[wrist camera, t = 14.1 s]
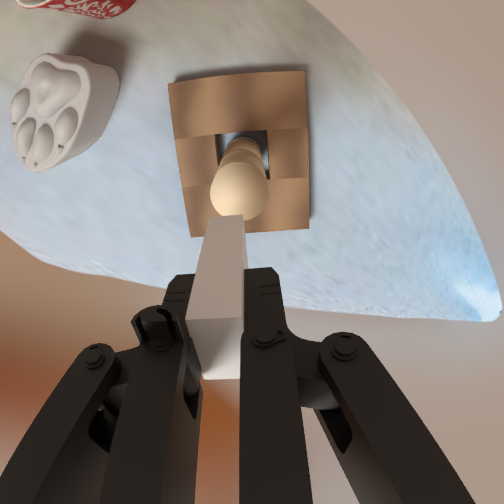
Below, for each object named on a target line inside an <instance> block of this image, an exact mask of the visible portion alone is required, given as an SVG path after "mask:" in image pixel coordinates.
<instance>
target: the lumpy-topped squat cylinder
mask: <svg viewBox="0 0 504 504" xmlns="http://www.w3.org/2000/svg"><path fill="white" fill-rule="evenodd" d="M119 89H120V80H119V76H118V73H117V72H116V70H115V69H114V68H112V67H110V66H106V65H100V64H96V63H93V62H91V61H90V60H88V59H86V58H85V57H82V56H74V55H64V54H50V53H46V54H42V55H40V56H39V57H37V58H36V59H35V60H34V61H33V62H32V63H31V64H30V65H29V67H28V68H27V70H26V72H25V73H24V76H23V78H22V81H21V83H20V86H19V88H18V91H17V93H16V95H15V96H14V97H13V99H12V102H11V104H10V116H11V129H12V138H13V144H14V148H15V151H16V153H17V156H18V158H19V160H20V161H21V163H22V165H23V166H24V167H25V168H26V169H28V170H30V171H32V172H43V171H47V170H49V169H51V168H53V167H55V166H57V165H59V164H61V163H63V162H65V161H67V160H69V159H71V158H73V157H75V156H77V155H79V154H81V153H83V152H84V151H86V150H87V149H88V148H90V147H91V146H92V145H93V144H94V143H95V142H96V141H97V140H98V139H99V138H100V137H101V135H102V133H103V132H104V130H105V127H106V125H107V123H108V121H109V119H110V116H111V114H112V111H113V109H114V105H115V103H116V100H117V97H118V94H119Z"/></svg>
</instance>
